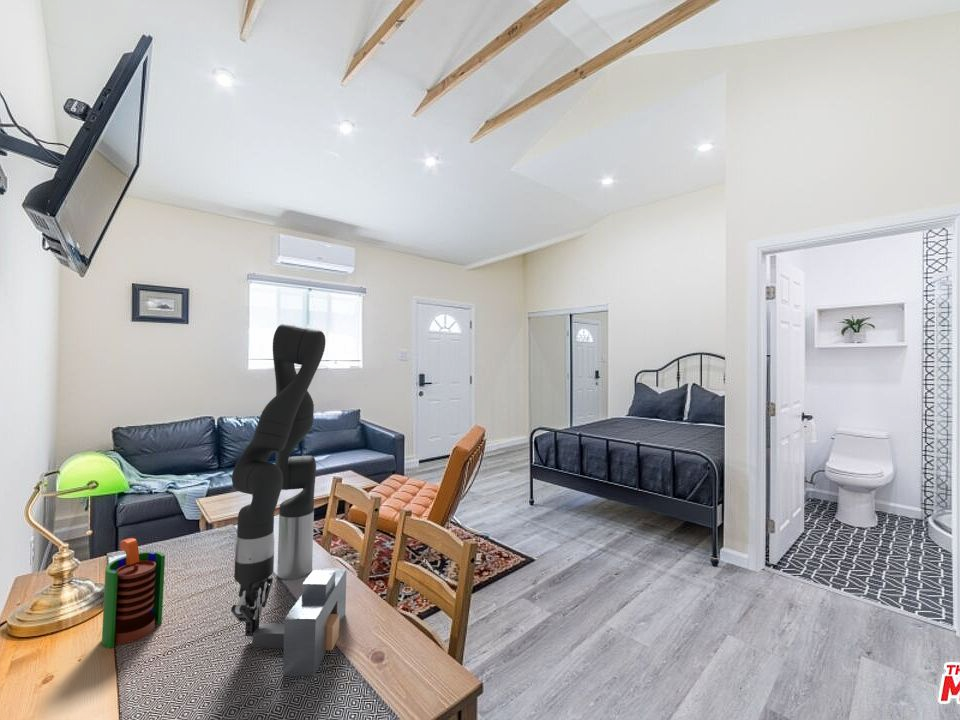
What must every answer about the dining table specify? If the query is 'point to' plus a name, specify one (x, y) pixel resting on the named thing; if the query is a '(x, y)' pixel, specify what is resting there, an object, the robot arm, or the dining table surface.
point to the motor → (132, 595)
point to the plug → (274, 634)
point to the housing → (312, 621)
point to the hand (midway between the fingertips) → (252, 634)
